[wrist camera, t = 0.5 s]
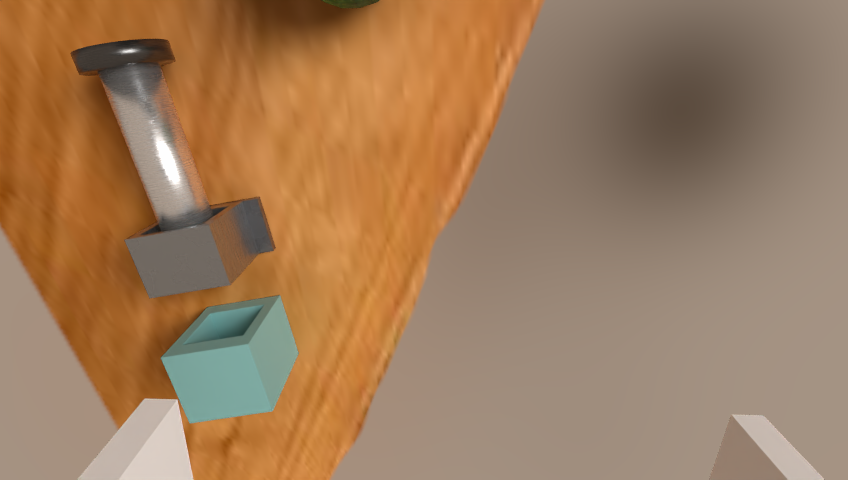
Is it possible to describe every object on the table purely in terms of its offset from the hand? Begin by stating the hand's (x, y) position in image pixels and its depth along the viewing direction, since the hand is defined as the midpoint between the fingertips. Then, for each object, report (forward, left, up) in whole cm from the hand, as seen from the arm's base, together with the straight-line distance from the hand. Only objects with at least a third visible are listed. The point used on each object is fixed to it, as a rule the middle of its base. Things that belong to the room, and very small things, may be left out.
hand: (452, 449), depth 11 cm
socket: (+10, -18, -27) cm, 34 cm away
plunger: (-5, -18, -26) cm, 32 cm away
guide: (+1, -18, -27) cm, 33 cm away
